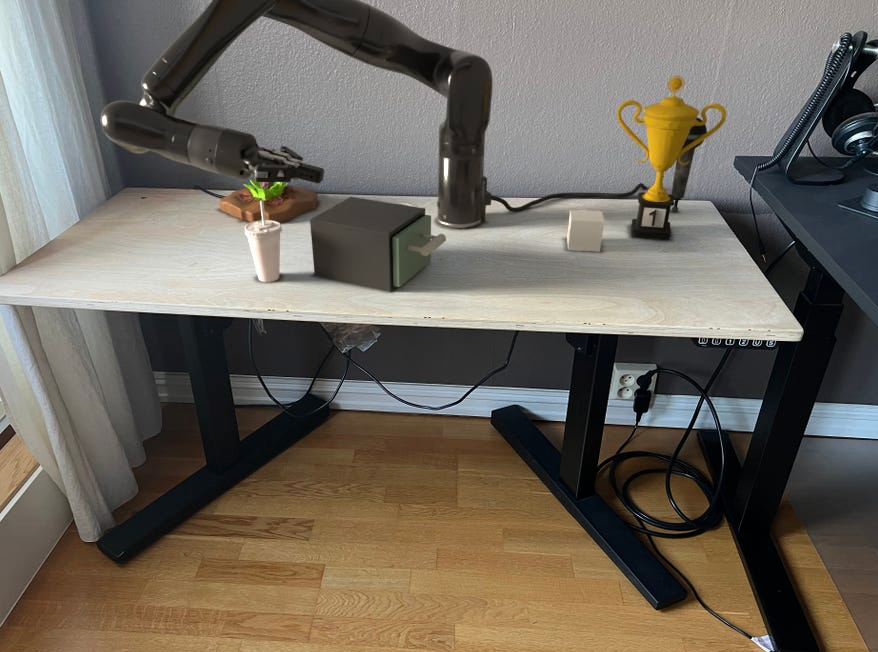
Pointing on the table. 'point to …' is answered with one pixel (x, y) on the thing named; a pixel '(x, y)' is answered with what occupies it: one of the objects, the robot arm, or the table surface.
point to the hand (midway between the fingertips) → (322, 176)
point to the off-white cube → (585, 230)
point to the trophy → (664, 154)
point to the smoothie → (265, 246)
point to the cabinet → (359, 240)
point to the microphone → (684, 170)
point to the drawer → (413, 249)
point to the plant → (268, 201)
